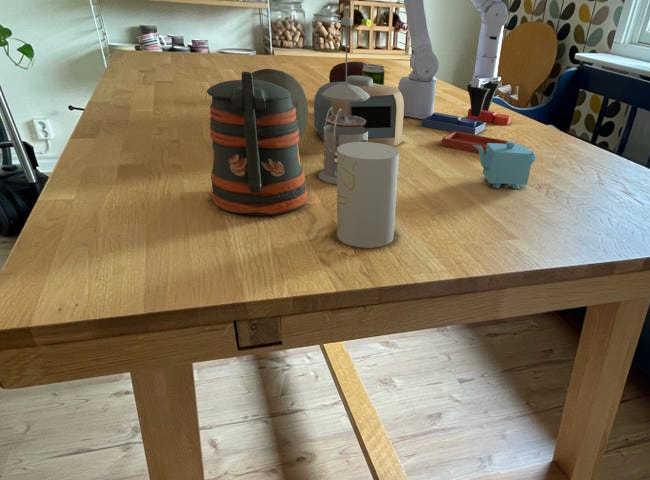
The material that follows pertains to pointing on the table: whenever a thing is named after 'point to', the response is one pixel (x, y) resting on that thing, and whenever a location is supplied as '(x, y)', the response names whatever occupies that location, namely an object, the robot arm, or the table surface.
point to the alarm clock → (366, 110)
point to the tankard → (255, 148)
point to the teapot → (506, 163)
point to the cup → (366, 193)
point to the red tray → (468, 141)
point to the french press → (341, 121)
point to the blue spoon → (453, 120)
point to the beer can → (374, 73)
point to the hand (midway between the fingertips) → (479, 113)
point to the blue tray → (453, 126)
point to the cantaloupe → (293, 87)
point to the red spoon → (491, 117)
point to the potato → (340, 71)
